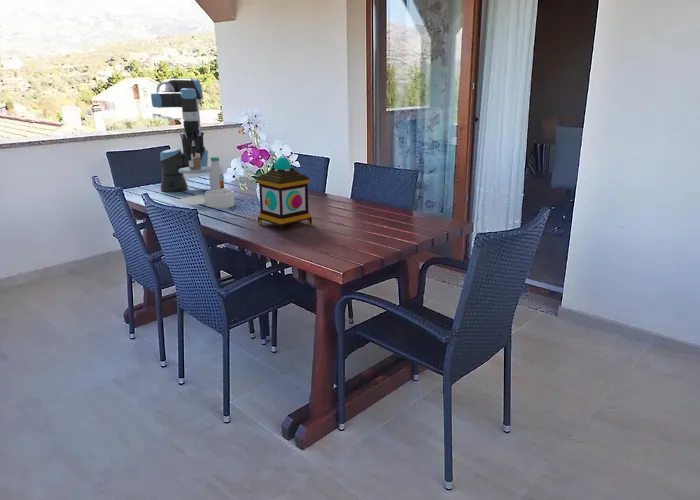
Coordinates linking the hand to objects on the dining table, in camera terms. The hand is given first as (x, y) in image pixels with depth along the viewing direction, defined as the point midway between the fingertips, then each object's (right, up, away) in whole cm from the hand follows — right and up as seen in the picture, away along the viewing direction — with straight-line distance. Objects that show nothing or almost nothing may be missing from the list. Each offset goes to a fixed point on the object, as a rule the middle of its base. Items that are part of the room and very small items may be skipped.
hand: (195, 166), depth 264 cm
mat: (0, -18, +6) cm, 18 cm away
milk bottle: (+5, -11, +25) cm, 28 cm away
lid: (0, -2, +1) cm, 3 cm away
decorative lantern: (+52, -33, -40) cm, 73 cm away
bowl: (+14, -21, -5) cm, 26 cm away
